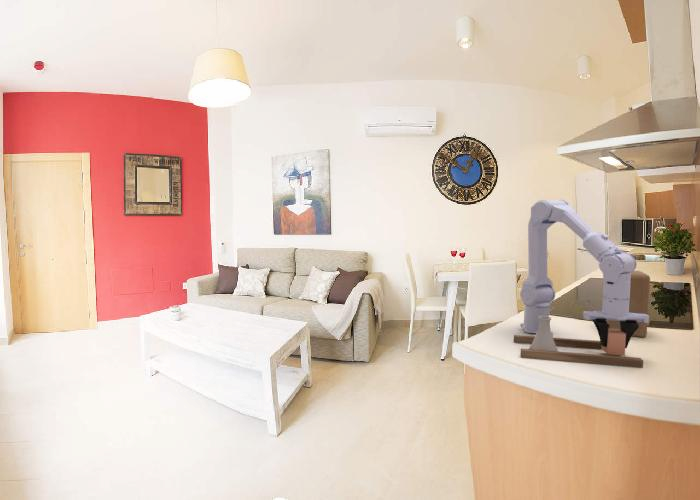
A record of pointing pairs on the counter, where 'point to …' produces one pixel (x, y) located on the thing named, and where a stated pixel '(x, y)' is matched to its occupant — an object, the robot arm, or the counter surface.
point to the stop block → (615, 342)
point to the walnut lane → (576, 356)
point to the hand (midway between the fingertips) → (613, 346)
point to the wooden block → (637, 301)
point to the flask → (544, 336)
